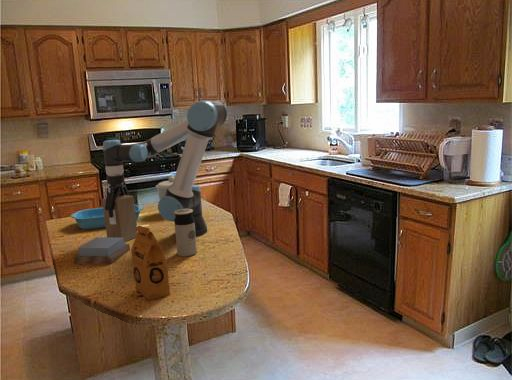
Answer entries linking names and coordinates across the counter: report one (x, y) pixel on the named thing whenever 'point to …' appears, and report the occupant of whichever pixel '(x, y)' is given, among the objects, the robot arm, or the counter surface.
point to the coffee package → (149, 265)
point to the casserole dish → (96, 217)
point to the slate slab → (101, 246)
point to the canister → (164, 187)
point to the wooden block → (122, 218)
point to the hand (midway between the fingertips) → (120, 219)
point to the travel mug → (185, 232)
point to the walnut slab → (101, 257)
